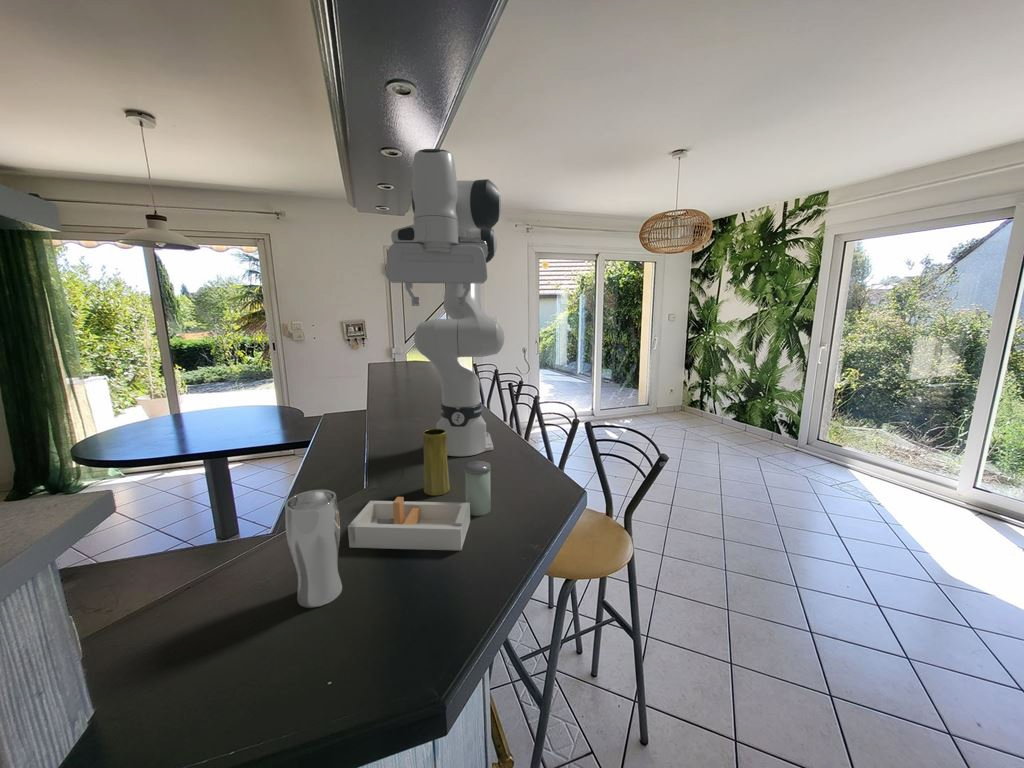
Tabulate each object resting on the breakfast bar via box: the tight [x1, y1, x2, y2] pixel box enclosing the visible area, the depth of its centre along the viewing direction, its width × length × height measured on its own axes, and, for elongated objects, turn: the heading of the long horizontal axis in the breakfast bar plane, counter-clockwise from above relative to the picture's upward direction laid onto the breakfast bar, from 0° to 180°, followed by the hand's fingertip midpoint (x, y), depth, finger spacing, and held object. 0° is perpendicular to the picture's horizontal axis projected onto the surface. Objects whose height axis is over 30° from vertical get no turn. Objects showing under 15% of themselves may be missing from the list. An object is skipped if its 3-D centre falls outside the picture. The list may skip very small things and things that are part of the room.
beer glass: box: [284, 489, 343, 609], centre depth 59 cm, size 7×7×15 cm
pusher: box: [377, 496, 420, 525], centre depth 76 cm, size 7×7×6 cm
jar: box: [464, 460, 492, 517], centre depth 85 cm, size 5×5×10 cm
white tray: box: [347, 500, 471, 551], centre depth 77 cm, size 10×20×4 cm, turn 87°
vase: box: [422, 427, 451, 497], centre depth 94 cm, size 6×6×14 cm
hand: (438, 305), depth 85 cm, fingers open, 8 cm apart
